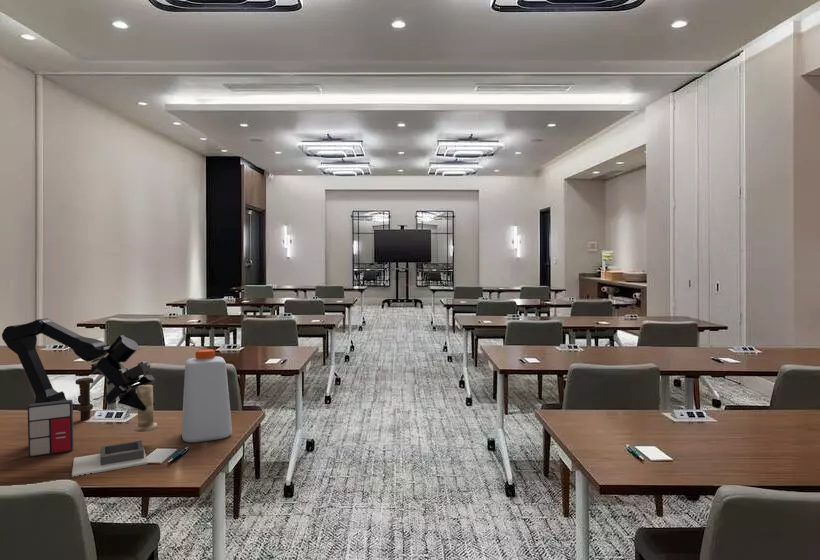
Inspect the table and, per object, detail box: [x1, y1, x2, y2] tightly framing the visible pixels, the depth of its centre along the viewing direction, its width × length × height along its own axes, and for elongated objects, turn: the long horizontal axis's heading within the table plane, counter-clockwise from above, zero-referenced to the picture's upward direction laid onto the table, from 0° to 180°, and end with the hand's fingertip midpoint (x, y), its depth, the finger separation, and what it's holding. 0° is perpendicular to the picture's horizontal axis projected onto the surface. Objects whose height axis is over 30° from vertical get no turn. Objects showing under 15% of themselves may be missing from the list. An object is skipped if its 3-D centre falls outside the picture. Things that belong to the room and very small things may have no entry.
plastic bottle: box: [181, 348, 233, 444], centre depth 177 cm, size 15×15×28 cm
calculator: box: [27, 399, 74, 458], centre depth 161 cm, size 11×4×15 cm, turn 117°
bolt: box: [75, 377, 95, 421], centre depth 197 cm, size 6×5×15 cm
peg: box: [133, 384, 158, 433], centre depth 169 cm, size 6×6×13 cm
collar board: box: [71, 440, 148, 478], centre depth 153 cm, size 18×15×3 cm
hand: (149, 407), depth 169 cm, fingers closed on peg, 4 cm apart
